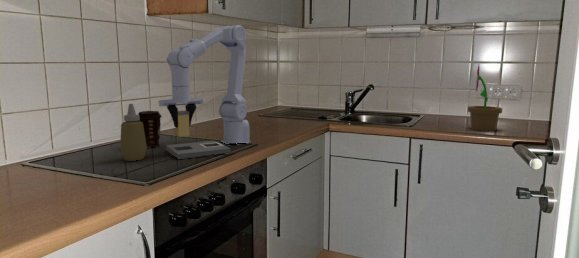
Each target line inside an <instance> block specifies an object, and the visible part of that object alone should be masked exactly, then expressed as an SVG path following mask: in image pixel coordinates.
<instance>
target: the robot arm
mask: <svg viewBox="0 0 579 258" xmlns="http://www.w3.org/2000/svg"><path fill="white" fill-rule="evenodd" d="M247 36H248V34H247V31H246V30H245V28H244V26H243V25H241V24H236V25H221V26H219V27H216V28H215V29H214V30H213V31H211V32H210V33H208V34H207V35H205V36H203V37H202V38H201V39H198V38H191V39H189V41H188V42H187V43H185V44H184V45H183V44H182V45H180V46H179V48H178V49H172V50H171V51H169V53H168V55H167V57H166V63H167V65H168V66H169V71H170V73H171V75H170V77H171V92H172V93H171V96H172V97H171V99H159V100H158V107H160V108H161V107H166V108H167V111H168V112H169V115H170V116H171V119H172V122H173V126H174V128H175V129H176V128H177V127H178V118H177V117H178V111H179V108H178V107H177V106H184V107H185V111H188V112H189V128H190V127H191V124H192V119H193V117H194V114H195V112H196V109H197V105H204V98H201V97H198V98H197V97H196V98H191V87H190V67H191V66H192V64H193V61H194V60H196V59H199V57H201V56H203V55H204V54H205V53H206V49H207V48H209V47H211V46H213V45H215V44H217V43H220V44H221V45H223V46H224V47H225V48H226V49H228V50H229V52H230V64H229V70H228V71H229V72H228V79H227V80H228V81H227V90H226V94H225V95H223V97H222V98H221V102H220V105H219V107H218V113H219V116H220V117H221V120H222V121H223V140H220V141H221V142H223V143H222V144H224V143H225V144H224V145H226V144H229V143H236V144H237V143H246V144H250V143H251V141H250V138H251V137H250V123H249V120H247V119H245V118H246V117H247V113H248V109H247V100H246V99H245V98H244V96H243V95H242V92H243V83H244V76H245V75H244V74H245V66H246V58H247V57H246V56H247V55H246V54H247V46H246V45H247V38H248V37H247ZM221 142H220V143H221ZM249 142H250V143H249ZM237 145H238V144H237Z"/></svg>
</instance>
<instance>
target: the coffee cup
mask: <svg viewBox="0 0 579 258" xmlns="http://www.w3.org/2000/svg"><path fill="white" fill-rule="evenodd" d="M137 115H139V116H140V120H138V121H141V122H142V123H143V127H144V133H145V139H146V145H147V149H152V148H151V147H155V148H158V146H159V147H160V139H161V125H162V124H161V118H162V117H163V115H161V113H160V112H159V110H143V111H139V112H138V114H137Z"/></svg>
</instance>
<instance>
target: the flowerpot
mask: <svg viewBox="0 0 579 258" xmlns="http://www.w3.org/2000/svg"><path fill="white" fill-rule="evenodd" d="M480 69H481V68H480V64H478V66H477V70H476V71H477V72H476V80H475V81H476V87H475V88H476V89H475V91H476V92H478V88H479V81H481V84H482V86H483V90H481V92H480V93H479V95H480V96H481V97H483V98H484V103H483V105H470V106H469V105H468V106H467V112H469V113H470V114H469V116H470V129H471V130H472V131H476V130H477V131H476V132H495V131H496V129H497V124H498V122H499V121H498V120H499V117H500V114H502V113H503V108H502V107H499V106H490V105H489V106H488V105H487V103H488V100H489V99H488V93H487V86H486V83H485V80H484V78H482V76H481V75H480Z"/></svg>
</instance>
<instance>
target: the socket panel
mask: <svg viewBox="0 0 579 258" xmlns="http://www.w3.org/2000/svg"><path fill="white" fill-rule="evenodd" d="M166 150H167V151H168V152H169V153H171V154H172V155H174V156H175V157H177V158H178V159H180V158H187V157H193V156H203V155H211V154H221V153H227V152H231V153H232V148H231V147H229V146H228V145H226V144H224V143H221V142H220V141H217V140H215V139H214V140H205V141H197V142H185V143H177V144H176V143H175V144H165V151H166ZM167 151H166V152H167ZM168 152H167V153H168ZM169 153H168V154H169ZM171 154H170V155H171ZM172 155H171V156H172ZM175 157H174V158H175Z"/></svg>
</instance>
